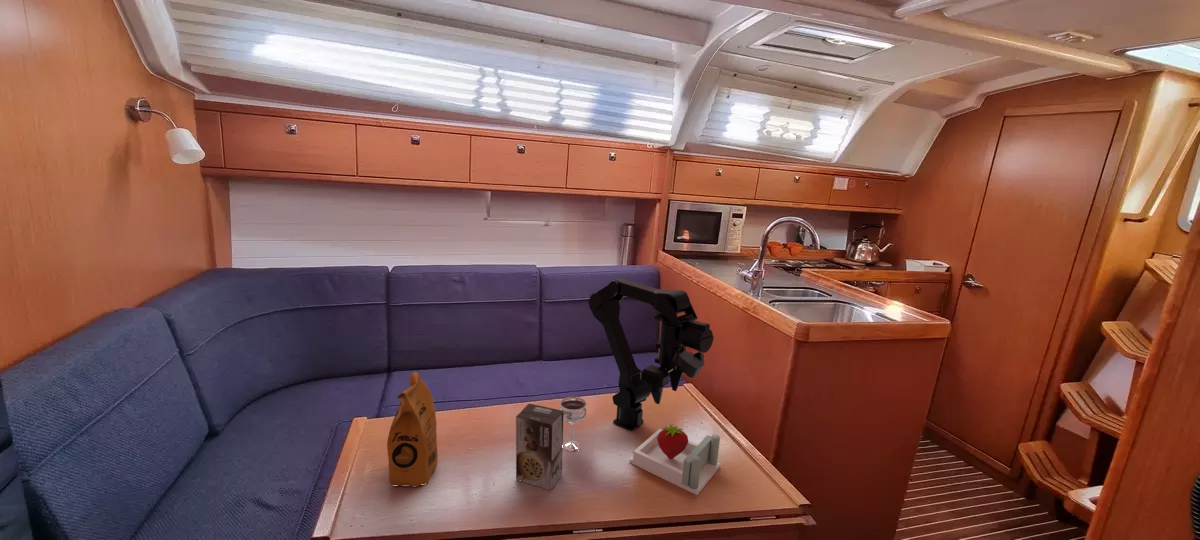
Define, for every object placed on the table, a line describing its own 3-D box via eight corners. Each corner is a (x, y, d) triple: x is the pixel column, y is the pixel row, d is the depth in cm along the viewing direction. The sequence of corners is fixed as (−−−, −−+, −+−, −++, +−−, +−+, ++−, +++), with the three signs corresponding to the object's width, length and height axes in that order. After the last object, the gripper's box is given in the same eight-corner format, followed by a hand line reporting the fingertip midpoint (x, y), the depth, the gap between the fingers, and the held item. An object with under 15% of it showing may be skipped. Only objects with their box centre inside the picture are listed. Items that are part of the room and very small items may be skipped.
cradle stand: (629, 462, 110) (631, 432, 108) (655, 438, 120) (657, 411, 119) (697, 495, 100) (700, 463, 98) (719, 466, 110) (723, 437, 108)
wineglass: (553, 449, 114) (555, 406, 111) (565, 435, 120) (567, 394, 117) (578, 456, 111) (580, 412, 109) (589, 442, 117) (591, 400, 115)
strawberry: (688, 467, 108) (692, 429, 105) (657, 466, 108) (660, 428, 105) (684, 452, 113) (687, 416, 111) (654, 451, 113) (656, 415, 111)
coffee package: (381, 490, 96) (375, 396, 92) (401, 454, 109) (396, 370, 104) (428, 489, 97) (425, 396, 93) (443, 454, 109) (441, 370, 105)
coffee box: (562, 473, 105) (565, 410, 101) (551, 491, 99) (553, 424, 95) (527, 463, 108) (529, 402, 104) (514, 480, 102) (515, 415, 98)
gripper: (683, 360, 101) (677, 422, 104) (715, 338, 116) (709, 393, 119) (641, 347, 107) (636, 406, 111) (677, 328, 122) (672, 381, 126)
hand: (666, 396), depth 116 cm, fingers open, 9 cm apart
